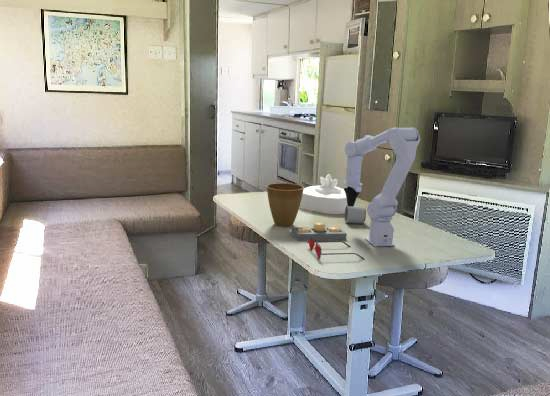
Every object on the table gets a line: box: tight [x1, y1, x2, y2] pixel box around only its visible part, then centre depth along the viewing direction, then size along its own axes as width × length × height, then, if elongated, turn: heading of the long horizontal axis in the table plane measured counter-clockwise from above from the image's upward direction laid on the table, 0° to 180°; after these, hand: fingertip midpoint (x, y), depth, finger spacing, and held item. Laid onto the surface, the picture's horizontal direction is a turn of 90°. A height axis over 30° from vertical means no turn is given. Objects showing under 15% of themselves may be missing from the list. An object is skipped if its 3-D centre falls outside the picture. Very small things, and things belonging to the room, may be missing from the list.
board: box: [289, 226, 348, 241], centre depth 194 cm, size 13×19×2 cm
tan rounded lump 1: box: [312, 221, 326, 232], centre depth 192 cm, size 4×4×3 cm
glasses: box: [306, 237, 365, 261], centre depth 174 cm, size 14×16×5 cm
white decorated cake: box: [299, 173, 357, 215], centre depth 241 cm, size 25×25×16 cm
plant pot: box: [266, 182, 305, 228], centre depth 205 cm, size 15×15×16 cm
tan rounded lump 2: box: [328, 226, 341, 232], centre depth 194 cm, size 4×4×3 cm
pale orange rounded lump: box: [298, 226, 310, 233], centre depth 191 cm, size 4×4×3 cm
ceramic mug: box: [344, 205, 367, 225], centre depth 216 cm, size 11×8×8 cm
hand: (350, 206), depth 201 cm, fingers closed
